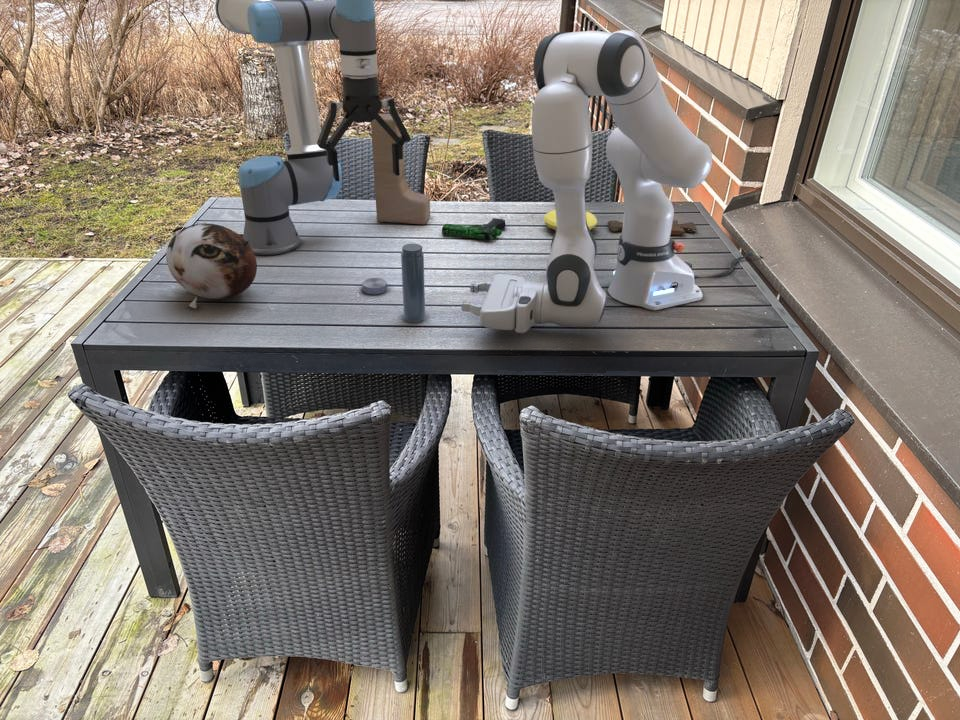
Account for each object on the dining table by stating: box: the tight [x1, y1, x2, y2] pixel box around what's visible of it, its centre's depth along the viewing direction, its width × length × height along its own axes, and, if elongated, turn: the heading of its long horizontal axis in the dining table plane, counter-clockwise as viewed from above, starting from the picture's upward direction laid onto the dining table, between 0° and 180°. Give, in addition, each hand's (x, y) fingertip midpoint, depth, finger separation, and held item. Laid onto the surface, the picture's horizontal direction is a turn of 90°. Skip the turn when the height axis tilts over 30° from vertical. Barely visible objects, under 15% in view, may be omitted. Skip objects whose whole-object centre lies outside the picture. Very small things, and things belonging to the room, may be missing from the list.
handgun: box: [441, 217, 506, 242], centre depth 207 cm, size 16×3×15 cm
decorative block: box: [370, 113, 431, 225], centre depth 208 cm, size 8×15×30 cm, turn 82°
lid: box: [361, 277, 388, 296], centre depth 173 cm, size 6×6×2 cm
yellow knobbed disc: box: [543, 209, 598, 231], centre depth 209 cm, size 16×16×7 cm
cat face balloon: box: [165, 222, 258, 309], centre depth 165 cm, size 22×18×20 cm
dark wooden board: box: [607, 219, 697, 235], centre depth 211 cm, size 26×2×10 cm
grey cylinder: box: [400, 243, 426, 323], centre depth 157 cm, size 5×5×17 cm
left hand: (366, 176), depth 160 cm, fingers open, 13 cm apart
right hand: (466, 296), depth 156 cm, fingers open, 8 cm apart
